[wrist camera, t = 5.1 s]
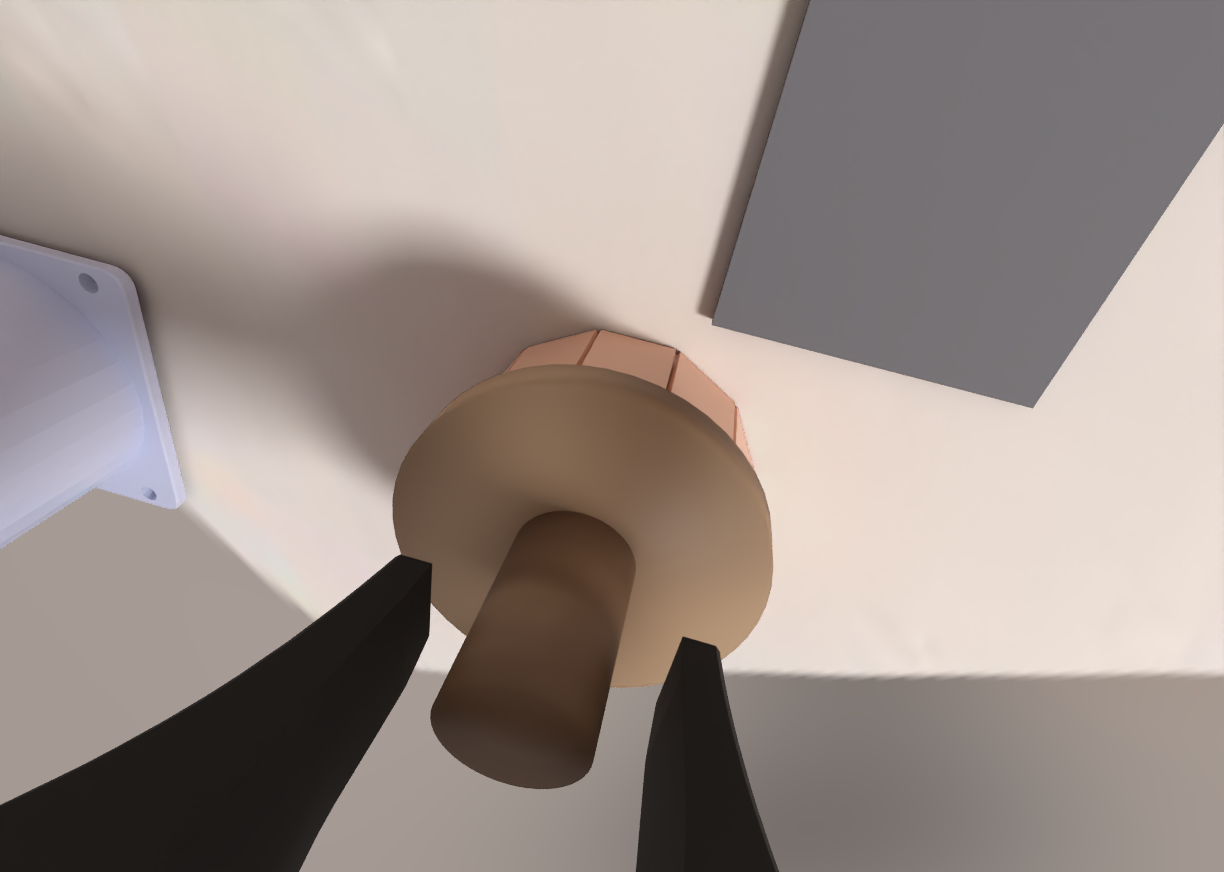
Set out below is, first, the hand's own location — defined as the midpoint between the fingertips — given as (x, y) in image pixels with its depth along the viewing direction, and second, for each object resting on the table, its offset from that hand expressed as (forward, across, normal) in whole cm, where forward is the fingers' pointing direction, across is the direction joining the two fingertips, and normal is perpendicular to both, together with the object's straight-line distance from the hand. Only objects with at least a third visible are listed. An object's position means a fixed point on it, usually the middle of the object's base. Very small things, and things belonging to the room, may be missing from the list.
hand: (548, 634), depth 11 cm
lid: (+3, 0, 0) cm, 3 cm away
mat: (+6, -5, -8) cm, 11 cm away
